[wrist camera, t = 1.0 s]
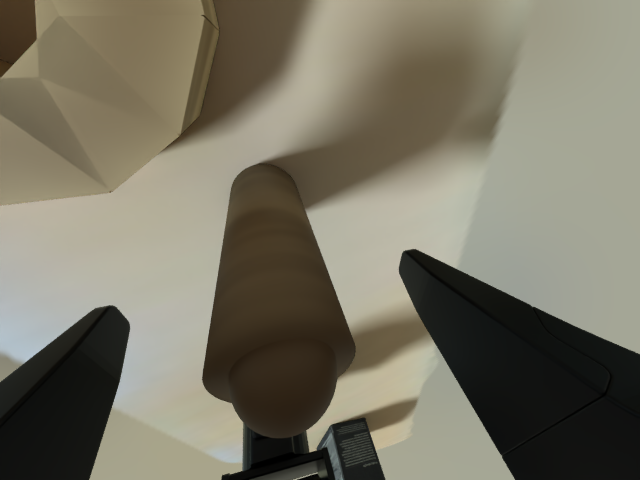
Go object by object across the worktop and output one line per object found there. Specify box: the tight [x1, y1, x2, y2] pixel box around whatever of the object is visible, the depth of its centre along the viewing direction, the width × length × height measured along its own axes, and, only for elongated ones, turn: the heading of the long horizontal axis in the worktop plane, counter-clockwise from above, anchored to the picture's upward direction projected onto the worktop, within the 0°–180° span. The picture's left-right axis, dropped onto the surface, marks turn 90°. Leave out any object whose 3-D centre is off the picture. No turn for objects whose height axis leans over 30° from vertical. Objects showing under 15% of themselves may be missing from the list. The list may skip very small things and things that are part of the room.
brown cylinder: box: [202, 164, 356, 438], centre depth 8 cm, size 3×3×10 cm
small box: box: [317, 418, 385, 480], centre depth 36 cm, size 11×6×10 cm, turn 167°
